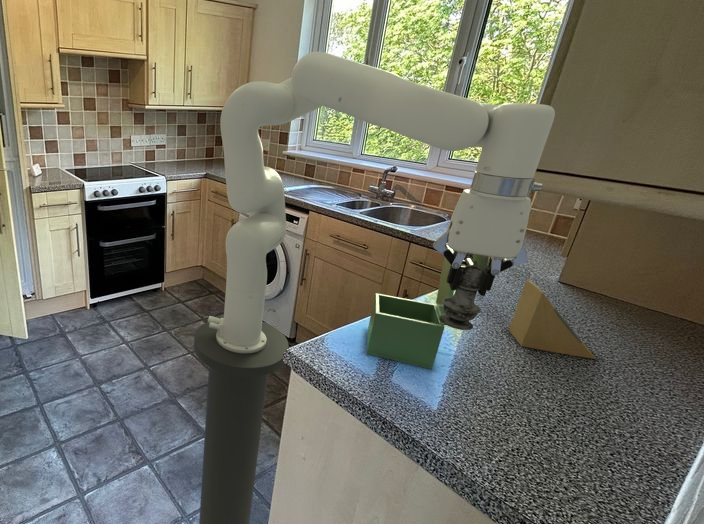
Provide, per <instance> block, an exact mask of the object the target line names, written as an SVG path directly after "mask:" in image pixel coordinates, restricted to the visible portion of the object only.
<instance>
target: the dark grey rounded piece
mask: <svg viewBox="0 0 704 524" xmlns="http://www.w3.org/2000/svg"><path fill="white" fill-rule="evenodd" d="M476 264H477V262H476V261H475V262H473V265H468V266H465V265H464V266H465V267H464V268H463V270H462V274H461V277H460V280H459V283H458V286H457V290H455V291H454V293H453V297H448V298H444V299H443V303H444V305H443V308H444V311H445V313H446V314H445V315H441V316H440V317H439V319H440V321H441V322H442V323H444V324H445V325H444V326H447V327H450V328H452V329H455V330H461V331H471V330H473V328H474V324H473V323H472V322H470V321H473V320H474V319H475V318H476V317H477V316H478V314H480V313H482V309H481V307H480V306H479V305H478V304H476V303H475V299H476V297H477V293H478V291H477V290H480V287H479V286H478V285H479V282H480V279H481V276H482V269H481V268H479V267H478V266H476Z"/></svg>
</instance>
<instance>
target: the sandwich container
mask: <svg viewBox="0 0 704 524" xmlns="http://www.w3.org/2000/svg"><path fill="white" fill-rule="evenodd" d="M508 331H509V333H510V334H511V335H512V337H513V338H514V339H515V340H516V341H517V342H518V344H519V345H520V346H521V347H524V348H528V349H533V350H534V349H535V350H538V351H539V350H540V351H546V352H550V353H557V354H562V355H568V356H575V357H580V358H587V359H591V360H592V359H593V360H596V359H597V358H596V357H595V355H594V354H593V353H592V352H591V351H590V350H589V348H588V347H587V345H585V343H584V342H583V341H582V339H581V338H580V337H579V335H577V333H576V332H575V331H574V329H572V327H571V326H570V324H569V323H568V322H567V320H565V318H564V317H563V316H562V315H561V313H560V312H559V311H558V310H557V308H556V307H555V306H554V304H553V303H552V302H551V300H550V299H549V298H548V297H547V295H546V294H545V293H544V292H543V290H541V288H540V287H539V286H538V285H537V284H535V283H534V282H532V281H531V280H530V279H526V280H525V283H524V286H523V289H522V291H521V295H520V298H519V300H518V304H517V306H516V309H515V312H514V314H513V317H512V320H511V323H510V326H509V329H508Z"/></svg>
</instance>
